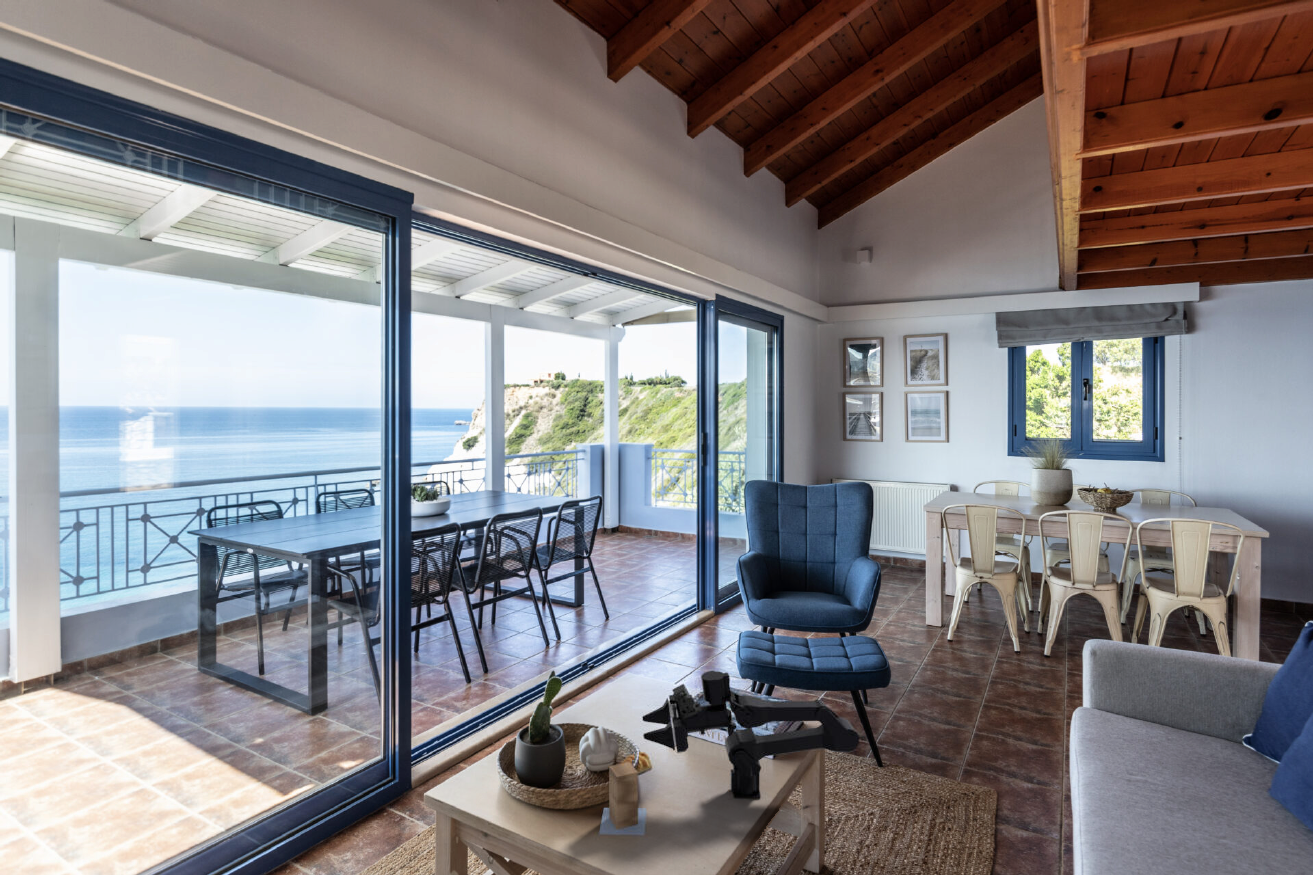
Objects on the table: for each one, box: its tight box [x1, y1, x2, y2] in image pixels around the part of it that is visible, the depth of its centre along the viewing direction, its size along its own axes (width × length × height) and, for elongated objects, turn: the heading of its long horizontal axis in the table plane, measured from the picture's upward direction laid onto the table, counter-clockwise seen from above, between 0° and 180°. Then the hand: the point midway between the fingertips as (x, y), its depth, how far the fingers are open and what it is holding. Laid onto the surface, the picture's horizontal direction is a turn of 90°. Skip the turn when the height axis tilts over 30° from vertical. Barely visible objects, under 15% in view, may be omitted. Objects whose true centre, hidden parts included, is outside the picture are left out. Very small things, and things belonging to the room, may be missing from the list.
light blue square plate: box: [598, 807, 648, 836], centre depth 158 cm, size 10×10×1 cm
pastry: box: [620, 751, 653, 775], centre depth 180 cm, size 9×7×4 cm
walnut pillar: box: [608, 762, 639, 830], centre depth 157 cm, size 5×5×12 cm
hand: (643, 727), depth 169 cm, fingers open, 9 cm apart
